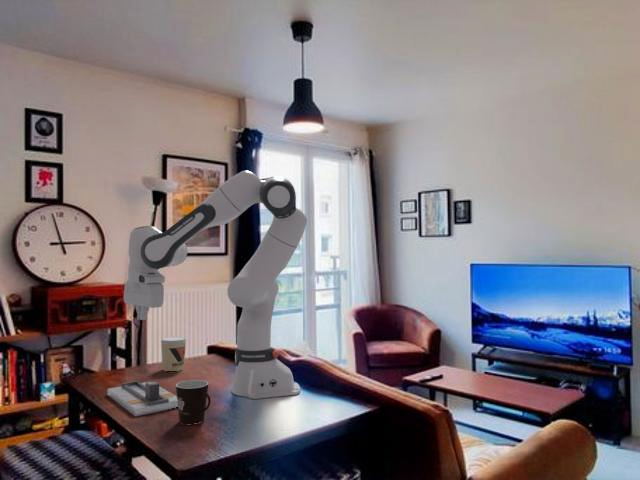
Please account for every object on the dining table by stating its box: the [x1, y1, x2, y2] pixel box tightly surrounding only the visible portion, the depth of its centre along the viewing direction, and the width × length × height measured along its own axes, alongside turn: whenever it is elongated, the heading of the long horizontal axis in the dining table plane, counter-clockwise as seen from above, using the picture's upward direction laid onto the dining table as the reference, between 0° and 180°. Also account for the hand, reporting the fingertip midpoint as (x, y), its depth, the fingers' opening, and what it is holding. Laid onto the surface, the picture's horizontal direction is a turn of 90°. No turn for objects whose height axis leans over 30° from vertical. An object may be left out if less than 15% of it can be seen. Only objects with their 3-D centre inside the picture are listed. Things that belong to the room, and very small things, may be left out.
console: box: [107, 380, 178, 417], centre depth 151 cm, size 26×14×3 cm, turn 39°
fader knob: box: [145, 381, 160, 401], centre depth 146 cm, size 4×3×4 cm
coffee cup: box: [160, 336, 187, 372], centre depth 191 cm, size 9×9×12 cm
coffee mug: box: [175, 379, 211, 425], centre depth 132 cm, size 12×9×10 cm
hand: (142, 319), depth 158 cm, fingers closed
